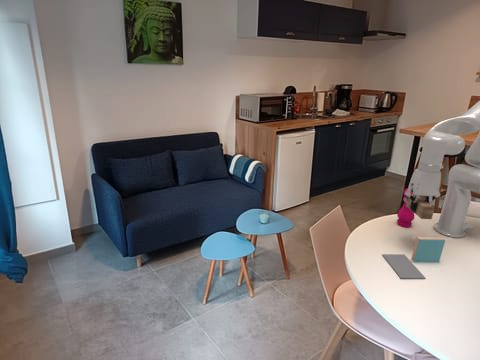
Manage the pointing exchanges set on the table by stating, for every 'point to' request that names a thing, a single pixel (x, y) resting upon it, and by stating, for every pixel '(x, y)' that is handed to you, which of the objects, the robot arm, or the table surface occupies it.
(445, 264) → the table surface
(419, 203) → the block
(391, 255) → the mat
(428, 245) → the tile
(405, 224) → the pepper mill
